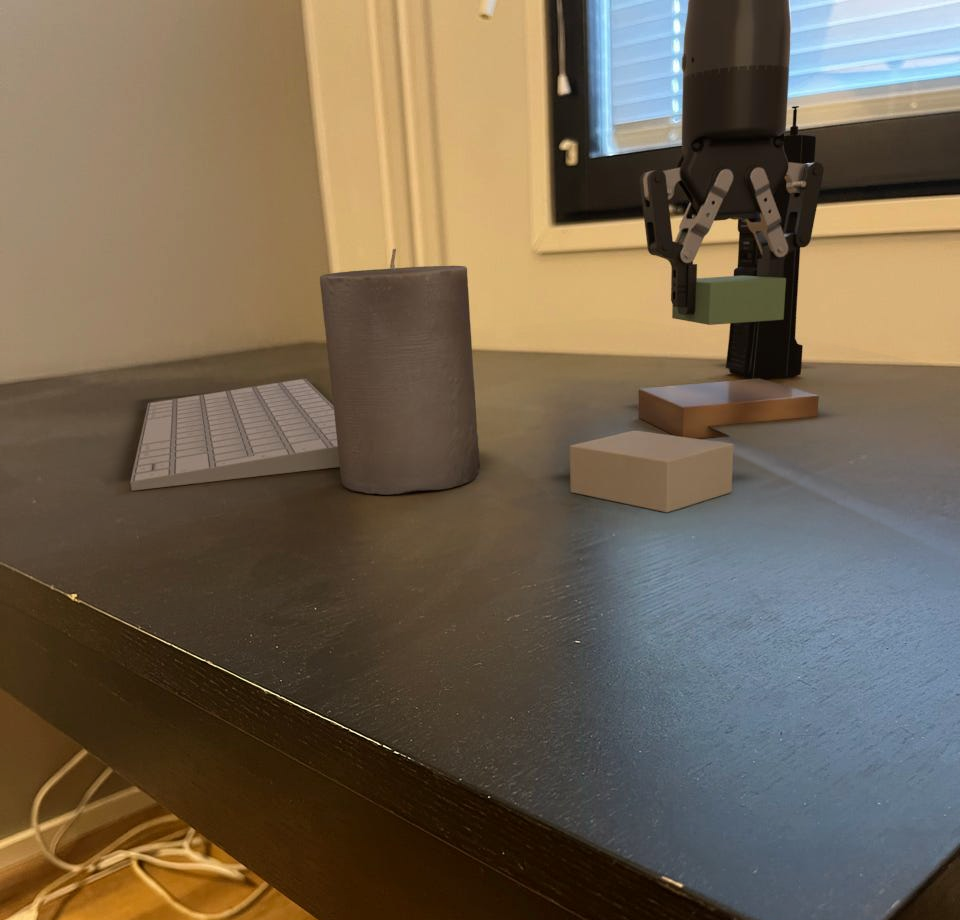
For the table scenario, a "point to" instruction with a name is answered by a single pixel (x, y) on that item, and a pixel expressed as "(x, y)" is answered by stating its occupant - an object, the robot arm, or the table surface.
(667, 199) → the robot arm
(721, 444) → the beige block
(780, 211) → the portable radio
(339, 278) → the pillar candle
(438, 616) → the table surface
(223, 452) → the computer keyboard
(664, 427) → the brown l-shaped block
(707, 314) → the green pad
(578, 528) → the table surface
